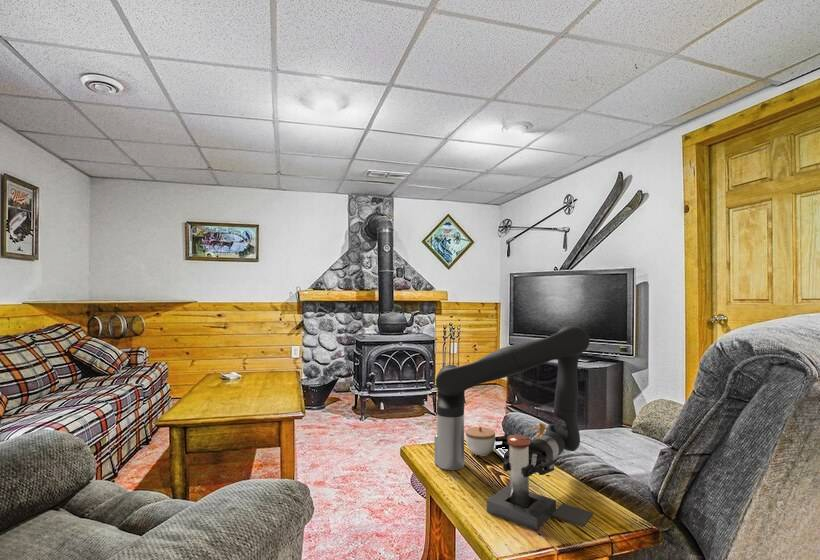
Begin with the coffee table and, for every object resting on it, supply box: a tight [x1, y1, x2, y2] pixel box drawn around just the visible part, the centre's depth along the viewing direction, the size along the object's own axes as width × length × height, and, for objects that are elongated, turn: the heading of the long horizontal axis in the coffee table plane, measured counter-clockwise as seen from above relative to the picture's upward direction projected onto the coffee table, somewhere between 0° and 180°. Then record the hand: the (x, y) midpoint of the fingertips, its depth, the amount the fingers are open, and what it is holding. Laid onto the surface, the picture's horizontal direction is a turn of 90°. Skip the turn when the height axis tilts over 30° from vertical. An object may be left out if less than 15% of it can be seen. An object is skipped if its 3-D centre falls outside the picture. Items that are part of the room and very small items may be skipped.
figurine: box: [530, 422, 547, 439], centre depth 152 cm, size 8×6×12 cm
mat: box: [551, 502, 594, 528], centre depth 112 cm, size 8×8×1 cm
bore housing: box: [486, 484, 557, 531], centre depth 114 cm, size 14×12×3 cm
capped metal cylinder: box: [507, 434, 531, 508], centre depth 115 cm, size 6×6×17 cm
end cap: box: [494, 432, 511, 450], centre depth 152 cm, size 10×7×7 cm
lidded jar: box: [464, 426, 496, 457], centre depth 156 cm, size 11×11×9 cm
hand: (514, 470), depth 113 cm, fingers closed on capped metal cylinder, 5 cm apart
